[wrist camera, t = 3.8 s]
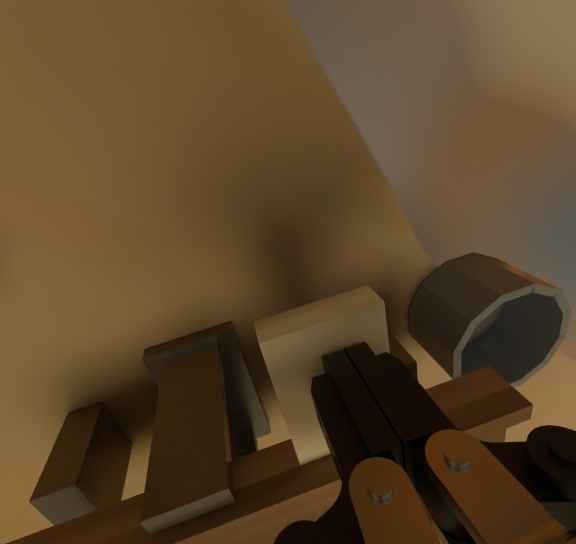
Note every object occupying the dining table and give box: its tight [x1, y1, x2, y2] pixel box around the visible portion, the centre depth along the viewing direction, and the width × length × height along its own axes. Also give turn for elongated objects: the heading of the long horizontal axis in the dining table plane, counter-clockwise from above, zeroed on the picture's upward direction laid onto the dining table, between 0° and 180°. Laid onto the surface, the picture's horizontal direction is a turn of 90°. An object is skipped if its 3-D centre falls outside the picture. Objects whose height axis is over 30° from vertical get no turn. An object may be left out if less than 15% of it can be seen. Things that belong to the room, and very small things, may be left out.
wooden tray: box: [6, 284, 533, 544], centre depth 12 cm, size 12×21×4 cm, turn 103°
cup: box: [408, 252, 571, 388], centre depth 21 cm, size 8×8×4 cm
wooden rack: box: [29, 322, 418, 535], centre depth 17 cm, size 9×19×9 cm, turn 103°
